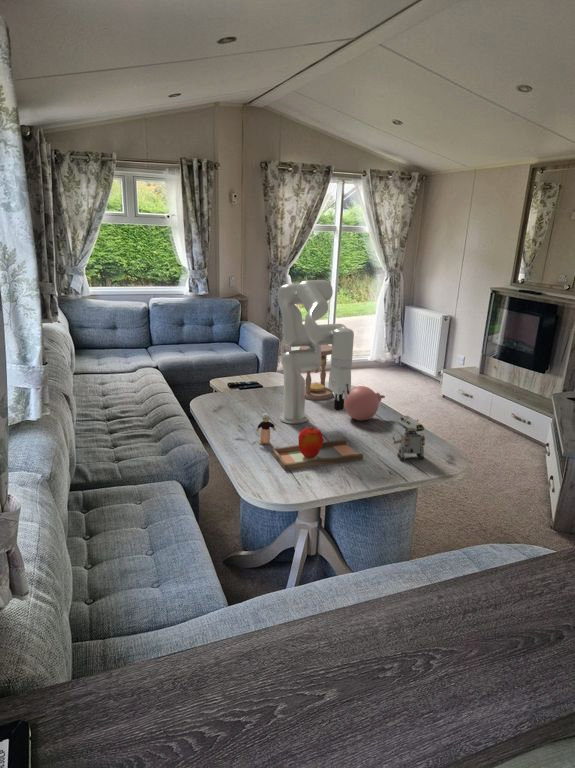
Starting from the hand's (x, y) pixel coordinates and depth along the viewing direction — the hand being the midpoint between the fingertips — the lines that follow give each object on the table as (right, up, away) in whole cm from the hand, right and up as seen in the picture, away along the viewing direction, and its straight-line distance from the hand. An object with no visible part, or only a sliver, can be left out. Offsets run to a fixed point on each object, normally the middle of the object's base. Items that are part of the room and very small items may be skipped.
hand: (338, 409), depth 198 cm
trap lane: (-8, -18, +2) cm, 20 cm away
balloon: (+16, -6, +42) cm, 45 cm away
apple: (-11, -18, +1) cm, 21 cm away
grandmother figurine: (-28, -14, +14) cm, 34 cm away
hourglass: (-5, +4, +74) cm, 75 cm away
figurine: (+27, -18, +4) cm, 33 cm away
